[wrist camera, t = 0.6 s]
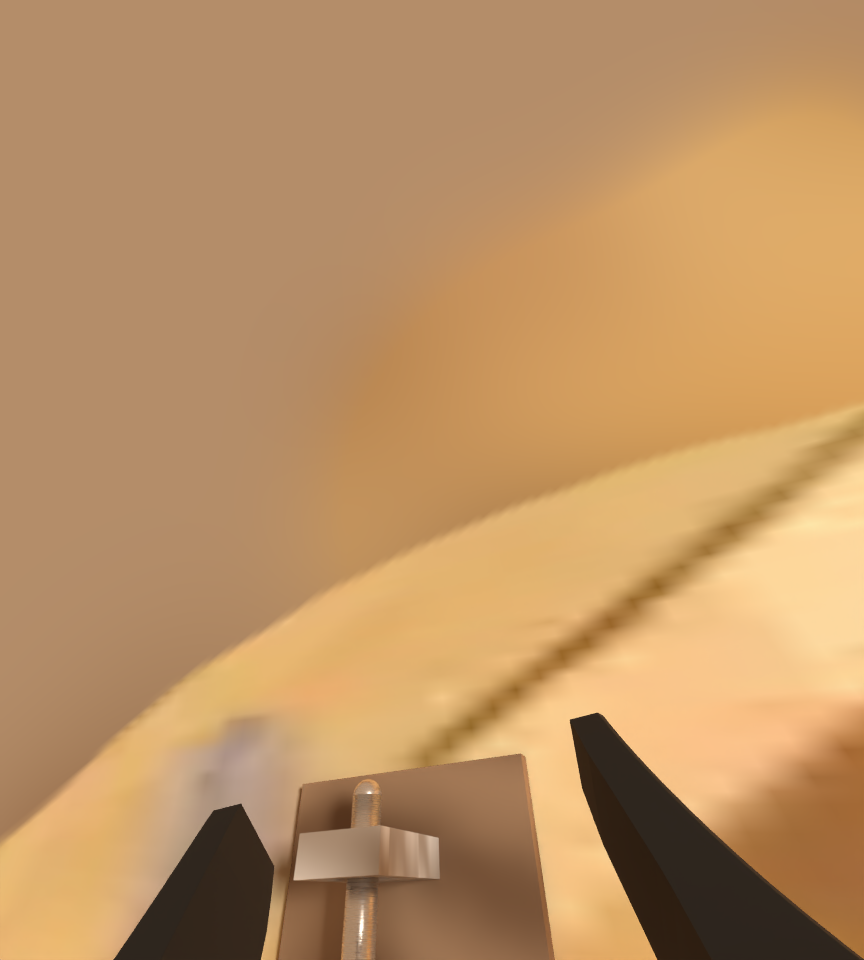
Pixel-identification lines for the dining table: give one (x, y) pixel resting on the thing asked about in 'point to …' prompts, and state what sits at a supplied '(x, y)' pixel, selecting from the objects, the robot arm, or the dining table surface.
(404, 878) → the board
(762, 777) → the dining table surface
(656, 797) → the robot arm
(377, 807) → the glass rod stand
